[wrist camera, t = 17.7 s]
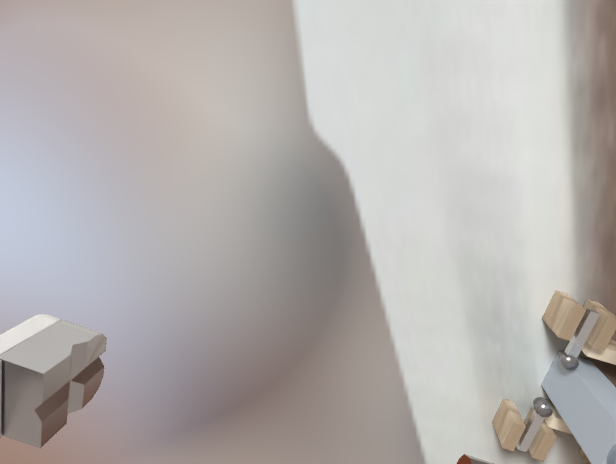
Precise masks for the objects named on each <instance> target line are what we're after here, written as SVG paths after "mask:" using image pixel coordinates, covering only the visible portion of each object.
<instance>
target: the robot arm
mask: <svg viewBox="0 0 616 464" xmlns="http://www.w3.org/2000/svg"><path fill="white" fill-rule="evenodd" d="M106 340H107V339H106V337H105V336H104V335H103V334H101V333H98V332H96V331H93V330H90V329H87V328H85V327H82V326H79V325H76V324H74V323H71V322H68V321H63V320H61V319H58V318H56V317H53V316H50V315H47V314H38V315H36V316H34V317H32V318H30V319H28V320H27V321H25V322H23V323H21V324H19V325H18V326H16V327H14V328H12V329H10V330H8V331H6V332H5V333H3V334H1V335H0V438H1V435H2V436H5V437H8V438H11V439H14V440H17V441H20V442H23V443H26V444H29V445H32V446H35V447H39V448H41V447H42V446H43V445H44V444H45V443H47V442H48V441H49V439H51V438H52V437H53V436H54V435H55V434H56V433H57V432H58V431H59V430H60V429H61V428H62V427H63V426H64V425H65V424H66V422H67V415H68V413H71V412H74V411H77V410H79V409H82V408H83V407H84V406H85V405H86V404H87V403H88V402H89V401H90V400H91V399H92V398H93V396H94V394H95V393H96V392H97V390H98V388H99V387H100V384H101V381H102V378H103V374H104V365H103V363H102V361H101V359H100V358H99V356H100V355H101V354H102V353H104V352H105V351H106ZM457 464H493V463H490V462H487V461H484V460H481V459H478V458H475V457H472V456H469V455H466V454H464V455H463V456H461V457H460V458H459V460H458V462H457Z"/></svg>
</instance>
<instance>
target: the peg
mask: <svg viewBox="0 0 616 464" xmlns="http://www.w3.org/2000/svg"><path fill="white" fill-rule="evenodd" d="M559 352H560V351H559ZM559 352H558V353H559ZM557 355H558V354H557ZM576 360H577V361H578V362H579V366H578V367H577V368H576V369H575V370H567V369H565V368H564V367H563V365H562V364H561V363H560V361H559V360H558V358H557V356H556V358H555V359H554V361H553V363H552V365H551V367H550V369H549V371H548V373H547V375H546V377H545V379H544V381H543V383H542V385H541V386H542V387H543V389H544V390H545V392H546V393H547V395H548V396H549V398H550V400H551V401H552V403H553V404H554V406H555V407H556V409H557V411H558V412H559V414H560V415H561V417H562V418H563V420H564V421H565V423H566V425H567V426H568V428H569V429H570V431H571V432H572V434H573V436H574V437H575V439H576V440H577V442H578V443H579V445H580V447H581V448H582V450H583V451H584V453H585V454H586V456H587V457H588V459H589V461H590V462H591V464H616V387H615V386H614V385H613V384H612V383H611V382H610V381H609V380H608V379H607V378H606V377H605V375H604V374H603V373H602V372H601V371H600V370H599V369H598V368H597V367H596V366H595V365H594V363H593V362H592V361H590V360H587V359H583V358H580V357H577V358H576Z"/></svg>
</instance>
